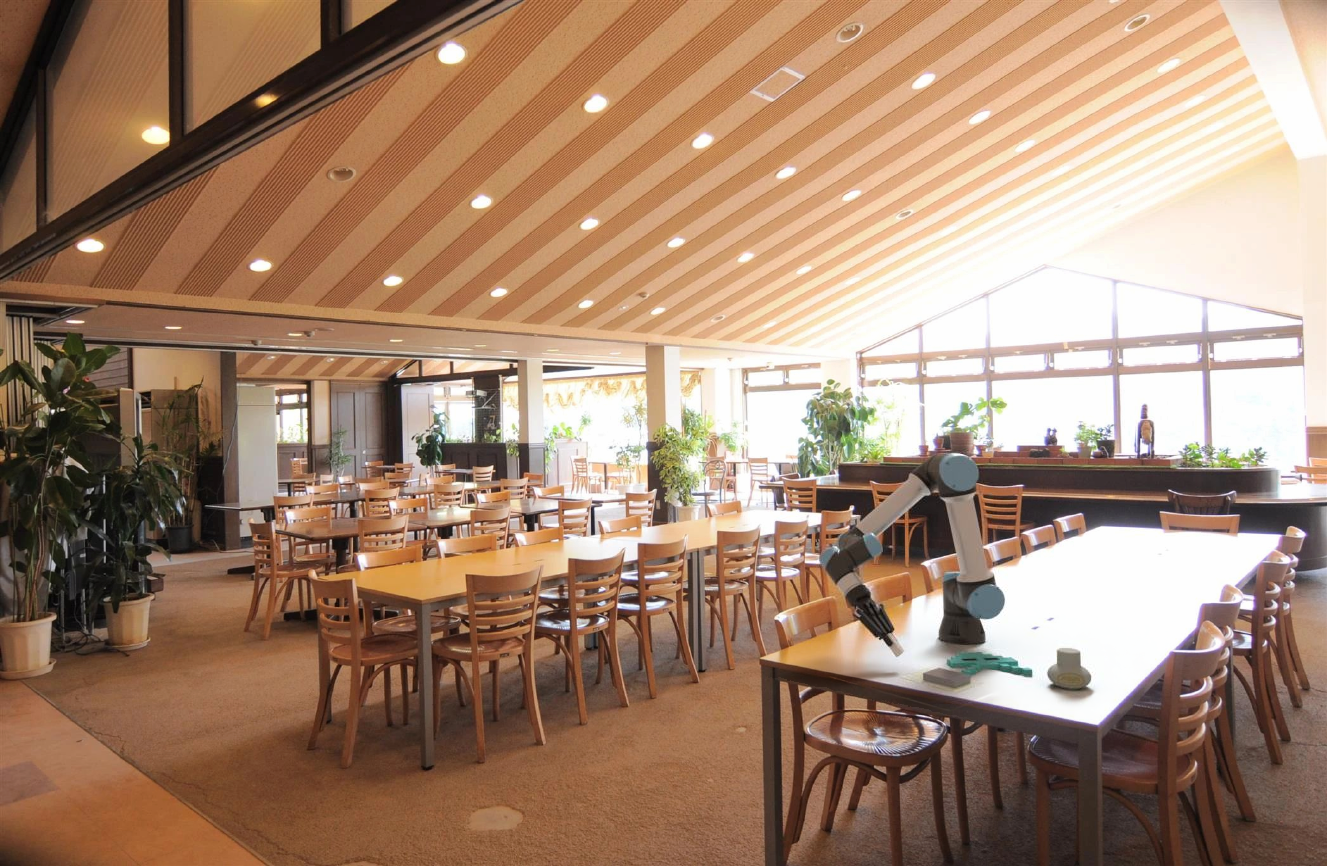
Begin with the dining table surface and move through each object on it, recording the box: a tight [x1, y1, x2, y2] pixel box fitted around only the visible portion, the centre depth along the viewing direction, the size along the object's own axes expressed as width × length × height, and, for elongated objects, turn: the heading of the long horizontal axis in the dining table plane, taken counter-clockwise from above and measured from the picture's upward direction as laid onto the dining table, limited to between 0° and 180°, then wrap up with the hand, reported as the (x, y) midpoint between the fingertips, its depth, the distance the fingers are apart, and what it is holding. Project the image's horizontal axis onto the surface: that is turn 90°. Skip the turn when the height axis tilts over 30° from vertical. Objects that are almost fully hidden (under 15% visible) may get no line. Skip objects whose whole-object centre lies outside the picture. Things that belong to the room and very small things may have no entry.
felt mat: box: [900, 668, 983, 693], centre depth 234 cm, size 18×13×1 cm
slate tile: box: [923, 667, 972, 688], centre depth 232 cm, size 2×8×10 cm
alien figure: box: [946, 651, 1033, 677], centre depth 247 cm, size 20×2×20 cm
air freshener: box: [1046, 647, 1092, 691], centre depth 227 cm, size 11×8×10 cm
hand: (900, 653), depth 245 cm, fingers closed
